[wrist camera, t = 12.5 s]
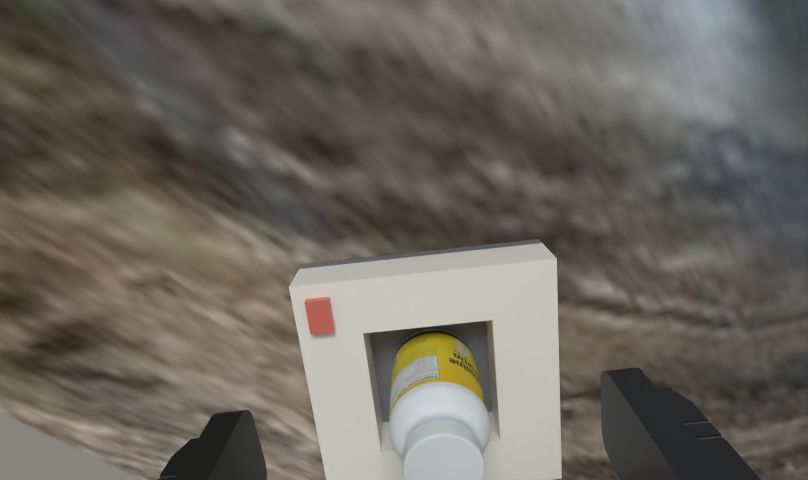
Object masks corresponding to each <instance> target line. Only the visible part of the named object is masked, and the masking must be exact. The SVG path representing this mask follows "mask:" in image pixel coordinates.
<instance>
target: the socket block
mask: <svg viewBox="0 0 808 480" xmlns="http://www.w3.org/2000/svg"><path fill="white" fill-rule="evenodd" d="M289 290H290V295H291V300H292V306H293V311H294V316H295V321H296V326H297V331H298V336H299V342H300V347H301V352H302V357H303V362H304V367H305V373H306V378H307V383H308V388H309V393H310V398H311V403H312V409H313V414H314V419H315V424H316V429H317V434H318V440H319V445H320V450H321V455H322V460H323V465H324V470H325V476H326V480H405V478H404V475H403V463H402V460H401V458H400V457H399V456H398V455H397V453H396V452H395V450H394V448H393V446H392V443H391V440H390V435H389V414H390V396H391V380H392V363H393V358H394V355H395V353H396V351H397V349H398V347H399V346H400V344H401V343H402V342H403V341H404V340H405V339H406V338H408V337H409V336H411V335H412V334H414V333H416V332H419V331H422V330H427V329H441V330H446V331H449V332H451V333H454V334H455V335H457V336H459V337H460V338H461V339H462V340H463V341H465V343H466V344H467V345H468V346H469V348H470V350H471V352H472V354H473V357H474V360H475V364H476V368H477V372H478V376H479V380H480V384H481V388H482V391H483V395H484V399H485V403H486V406H487V410H488V414H489V418H490V425H491V432H490V439H489V442H488V445H487V447H486V449H485V451H484V453H483V457H484V463H485V471H484V476H483V478H482V480H551V479H561V478H562V470H561V427H560V385H559V342H558V299H557V259H556V258H555V256H554V255H553V254H552V253H551V252H550V251H549V250H548V249H547V248H546V247H545V245H544V244H543V243H542V242H541V241H540V240H539V239H534V240H525V241H516V242H506V243H497V244H488V245H478V246H469V247H460V248H451V249H441V250H432V251H423V252H413V253H404V254H395V255H385V256H376V257H367V258H358V259H348V260H339V261H330V262H320V263H311V264H302V265H301V267H300V269H299V270H298V272H297V274H296V276H295V277H294V279H293V281H292V283H291V284H290V286H289Z"/></svg>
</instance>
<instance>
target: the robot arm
mask: <svg viewBox="0 0 808 480" xmlns="http://www.w3.org/2000/svg"><path fill="white" fill-rule="evenodd" d="M601 418H602V435H603V441H604V445H605V449H606V452H607V454H608V457H609V459H610V461H611V463H612V465H613V467H614V469H615V471H616V473H617V475H618V476H619V478H620V480H761V479H760V478H759V477H758V476H757V475H756V474H755V473H754V471H753V470H752V469H751V468H750V467H749V466H748V465H747V464H746V462H745V461H744V460H743V459H742V458H741V457H740V456H739V454H738V453H737V452H736V451H735V450H734V449H733V448H732V447H731V445H730V444H729V443H728V442H727V441H726V440H725V439H724V438H722V437H721V434H720V433H719V432H718V431H717V430H716V428H715V427H714V426H713V425H712V424H711V423H708V419H707V418H706V417H705V416H704V415H703V414H702V412H701V411H700V410H699V409H698V408H697V407H696V406H695V405H694V403H693V402H691V401H690V400H688V399H686V398H685V397H683V396H681V395H680V394H678V393H676V392H675V391H673V390H671V389H670V388H666V389H656V388H655V386H654V385H653V384H652V383H651V381H650V380H649V379H648V378H647V376H646V375H645V374H644V373H643V371H642V370H641V369H639V368H629V369H620V370H611V371H603V372H602V374H601ZM158 480H267V471H266V464H265V460H264V456H263V452H262V449H261V445H260V441H259V438H258V434H257V430H256V427H255V423H254V419H253V416H252V414H251V413H250V411H248V410H242V411H233V412H224V413H216V414H214V415H213V416H212V417H211V419H210V420H209V422H208V424H207V425H206V427H205V429H204V430H203V432H202V434H201V435H200V437H199V438H196V439H191V440H190V441H189V442H187V443H186V444H185V445H184V446H183V447H182V448H181V449H180V450H179V451H177V452H176V453H175V454H174V455H173V456H172V457H171V459H170V460H169V462H168V463H167V465H166V467H165V468H164V470H163V471H162V473H161V474H160V479H158Z"/></svg>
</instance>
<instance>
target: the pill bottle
mask: <svg viewBox="0 0 808 480" xmlns="http://www.w3.org/2000/svg"><path fill="white" fill-rule="evenodd" d="M490 432H491V425H490V418H489V414H488V410H487V406H486V403H485V399H484V395H483V391H482V388H481V384H480V380H479V376H478V372H477V368H476V364H475V360H474V357H473V354H472V352H471V350H470V348H469V346H468V345H467V344H466V343H465V341H463V340H462V339H461V338H460V337H459V336H457V335H455V334H454V333H451V332H449V331H446V330H441V329H427V330H422V331H419V332H416V333H414V334H412V335H411V336H409V337H408V338H406V339H405V340H404V341H403V342H402V343H401V344H400V346H399V347H398V349H397V351H396V353H395V355H394V358H393V363H392V380H391V396H390V414H389V435H390V440H391V443H392V446H393V448H394V450H395V452H396V453H397V455H398V456H399V457H400V458H401V460H402V463H403V475H404V478H405V480H482V478H483V476H484V471H485V463H484V457H483V453H484V451H485V449H486V447H487V445H488V442H489V439H490Z"/></svg>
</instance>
